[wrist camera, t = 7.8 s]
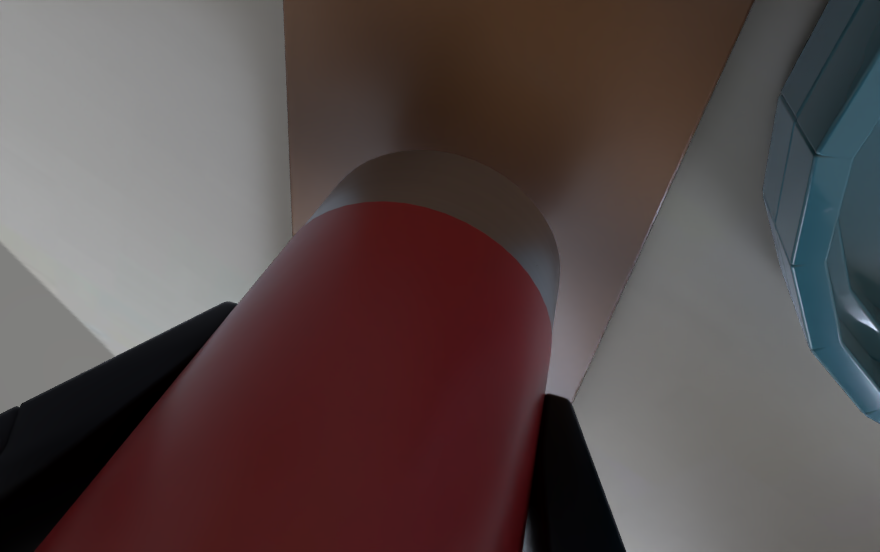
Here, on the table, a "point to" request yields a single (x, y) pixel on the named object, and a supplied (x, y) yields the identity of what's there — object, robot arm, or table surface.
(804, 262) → the dish
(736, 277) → the table surface
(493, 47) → the board
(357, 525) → the can
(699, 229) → the table surface
